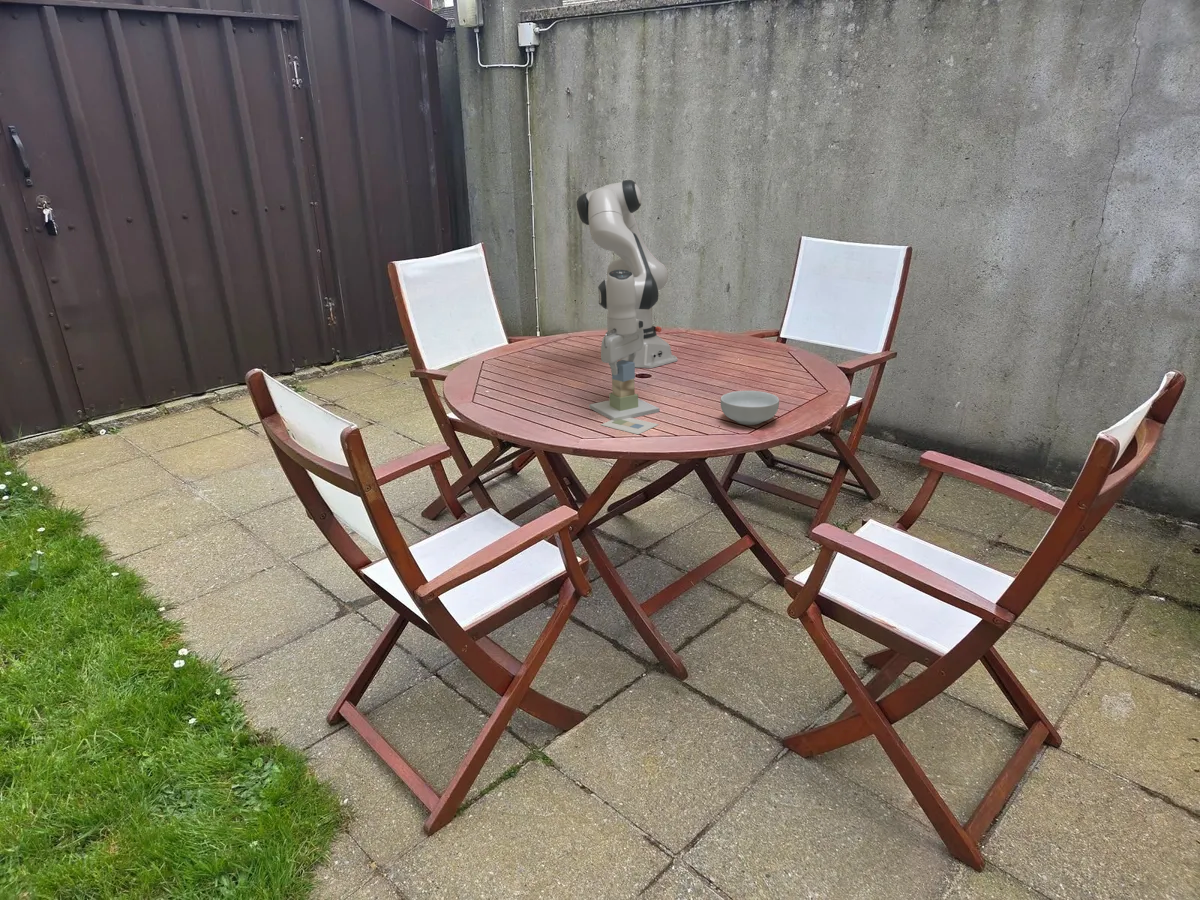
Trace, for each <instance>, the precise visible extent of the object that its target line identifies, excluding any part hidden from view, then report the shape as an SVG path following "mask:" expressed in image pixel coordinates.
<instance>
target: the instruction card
mask: <svg viewBox="0 0 1200 900" xmlns="http://www.w3.org/2000/svg"><path fill="white" fill-rule="evenodd" d="M600 426H603V427H606V428H610V429H615V430H617V431H622V432H626V433H629V434H634V435H640V434H642V433H644V432H647V431H649V430H651V429H653V428H655V427H658V426H659V423H655V422H650V421H646V420H643V419H638V418H635V417H634V418H627V419H623V420H617V421H614V420H611V419H609V420H608V421H606V422H604V423H602V424H601V423H600Z"/></svg>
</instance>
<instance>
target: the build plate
mask: <svg viewBox="0 0 1200 900" xmlns="http://www.w3.org/2000/svg"><path fill="white" fill-rule="evenodd" d="M608 398H609V400H604V401H600V402H595V403H590V404H588V407H589V409H590V410H593V411H594V412H596V413H598V414H599V415H601V416H603V417H605V418H607V419H608V420H614V421H617V420H623V419H627V418H634V419H635V418H639V417H643V416H647V415H652V414H656V413H660V407H659V406H655V405H653V404H651V403H649V402H648V401H645V400H643V399H640V398H639V395H638V393H635V395H630V396H626V397H619V396H617V395H614V394H612V392H611V393H609V397H608Z"/></svg>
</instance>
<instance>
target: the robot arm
mask: <svg viewBox="0 0 1200 900" xmlns="http://www.w3.org/2000/svg"><path fill="white" fill-rule="evenodd" d="M641 205H642V192H641V189H640V187H639V186H638V185H637V183H636V181H634V180H632V179H627V180H622V181H620V182H613V183H610V184H606V185H603V186H601V187H599V188H598V187H597V188H596V189H594V190H591V191H589V192H584V193H583V194H581V195H580V196H579V197H578V198H577V200H576V212H577V215H578V217H579V219H580V221H581V223H582V224H584V225H586V226H589V232H590V235H591V239H592V240H593V242H594V243H595V244H596V245H597V246H598V247H599V248H602V249H603V250H606V251H610V252H613V253H614V254H615V255H616V256H618V257H619V258H617V259H614V260H611V262H610V263H609V264H608V266H607V271H606V275H607V278H606V279H603V281H602V282H600V284H599V285H598V286H597V289H598V304H599V306H601V307H602V308H604V309H605V310H607V315H606V327H607V329H606V332H605V335H604V336H603V338H602V340H601V344H600V345H601V346H600V360H601V362H602V363H604V364H608V365H609V367H610V369H611V376H612V375H617V374H619V368H617V365H616V364H617V362H618V361H621V360H626V361H630V362H634V363H635V368H643V369H644V368H645V369H646V368H647V369H652V368H653V369H654V368H656V367H661V366H663V365H668V364H672V363H675V362H678V360H679V359H678V357H677V356H676V355H674V354H672V349H671V345H670V344H669V343H668V342H667V341H665V340H664V339H663V338H662V337H660V336H659V335H657V334H658V333H661V332H662V330H663V328H662V327H660V326H658V325H657V326H654V325H653V307H654V306H655V305H656V304H657V303H658V301H659V296H660V295H659V290H662V289H663V288H664V287H665V286H666V284H667V282H668V276H669V275H668V273H669V272H668V269H667V266H666V265H665V264H663V263H662V262H660V260H658V259H657V258H656V257H655V256H654V255H653V254H652V252H651V251H650V250H649V248H648V246H647V245H646V244H645V241H644V240H643V237H642V235H641V232H640V228H639V227H638V223H637V220H636V218H635V214H634V213H635V212H637V211H638V210H639V209H640V208H641Z"/></svg>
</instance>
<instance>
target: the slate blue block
mask: <svg viewBox="0 0 1200 900" xmlns="http://www.w3.org/2000/svg"><path fill="white" fill-rule="evenodd" d="M620 360H621V359H620ZM620 360H618V361H617V364H616V365H617V368H619V374H617V375H612V374H611V380H612V379H614V380H618V381H622V382H625V381H628V380H631V379H634V380H635V379H636V367H635V363H634V362H630V361H626V360H621V361H620Z"/></svg>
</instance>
